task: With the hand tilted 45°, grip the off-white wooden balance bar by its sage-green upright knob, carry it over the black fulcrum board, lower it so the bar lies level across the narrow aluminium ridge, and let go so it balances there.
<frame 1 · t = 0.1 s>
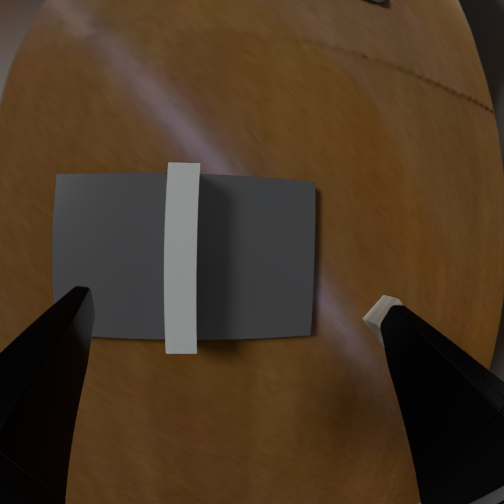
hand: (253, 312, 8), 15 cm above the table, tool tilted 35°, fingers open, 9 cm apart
balance bar: (411, 363, 28), on the table
fulcrum stand: (181, 257, 22), on the table
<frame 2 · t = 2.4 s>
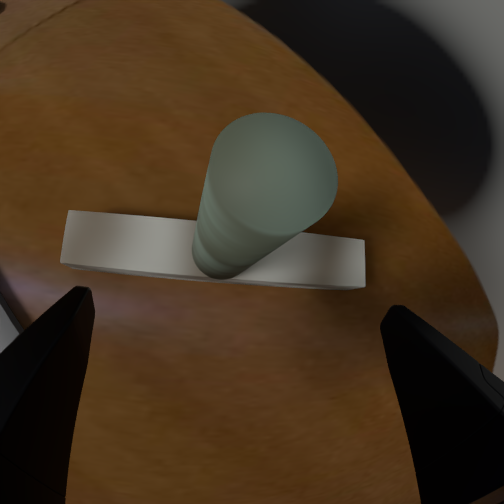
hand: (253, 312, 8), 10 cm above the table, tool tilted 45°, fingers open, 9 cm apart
balance bar: (216, 258, 19), on the table
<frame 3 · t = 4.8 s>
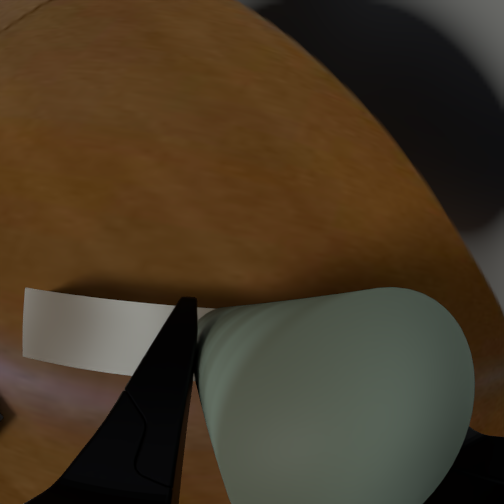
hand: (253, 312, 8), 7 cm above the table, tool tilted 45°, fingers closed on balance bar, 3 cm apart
balance bar: (220, 340, 14), on the table, touching gripper
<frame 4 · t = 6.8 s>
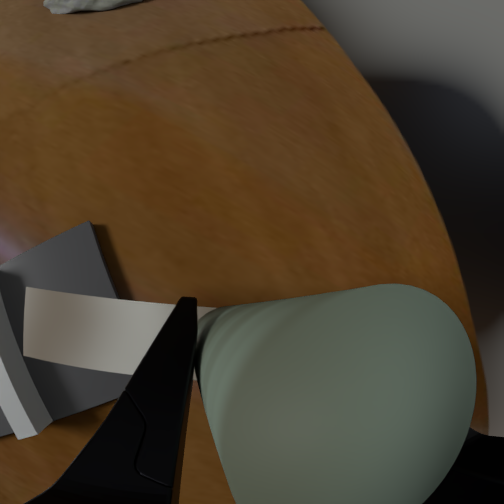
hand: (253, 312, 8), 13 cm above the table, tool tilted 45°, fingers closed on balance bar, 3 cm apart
balance bar: (221, 340, 14), point 7 cm above the table, touching gripper
fulcrum stand: (14, 348, 17), on the table
when the fingers open (12 cm above the table, at t = 9.2 s): balance bar drops 1 cm, resting on fulcrum stand.
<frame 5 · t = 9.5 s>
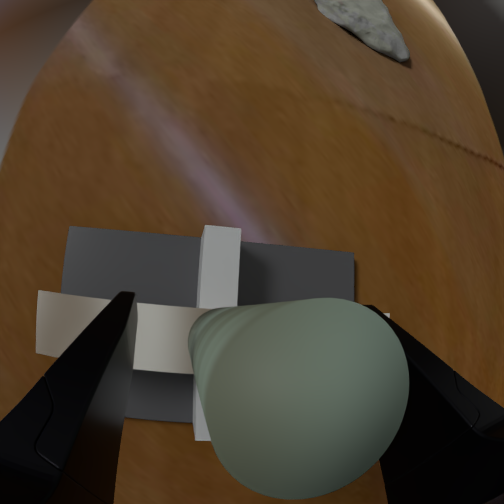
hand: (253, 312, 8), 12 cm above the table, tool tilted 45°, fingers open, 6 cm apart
balance bar: (217, 338, 16), point 4 cm above the table, touching fulcrum stand
fulcrum stand: (209, 332, 20), on the table
stone tool: (360, 14, 32), on the table
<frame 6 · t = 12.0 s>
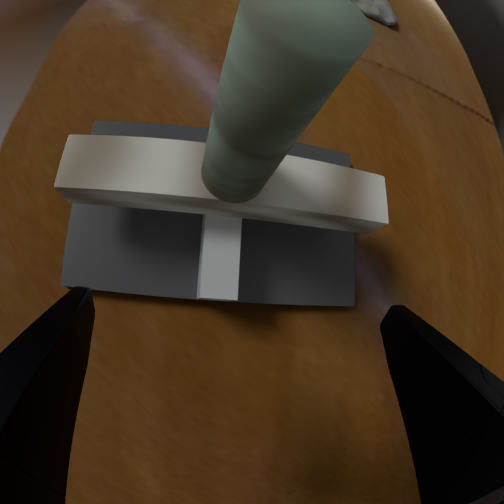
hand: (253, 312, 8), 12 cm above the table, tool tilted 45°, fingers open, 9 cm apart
balance bar: (226, 191, 17), point 4 cm above the table, touching fulcrum stand
fulcrum stand: (217, 212, 21), on the table
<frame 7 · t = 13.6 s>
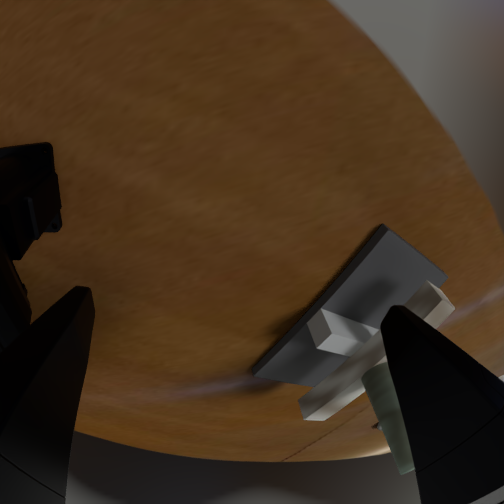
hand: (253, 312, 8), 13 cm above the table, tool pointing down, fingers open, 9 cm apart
balance bar: (367, 352, 27), point 4 cm above the table, touching fulcrum stand
fulcrum stand: (352, 323, 30), on the table
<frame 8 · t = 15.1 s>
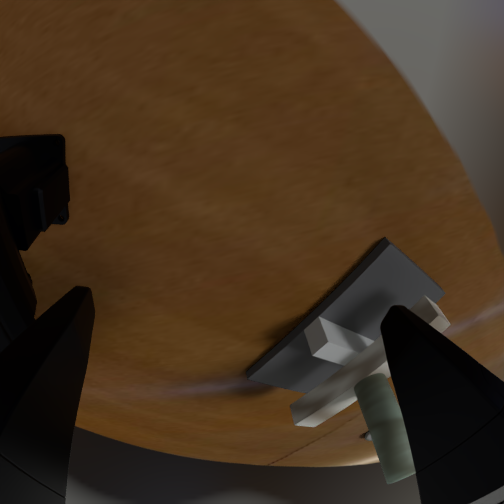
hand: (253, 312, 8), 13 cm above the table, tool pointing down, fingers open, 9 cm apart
balance bar: (361, 362, 27), point 4 cm above the table, touching fulcrum stand
fulcrum stand: (348, 332, 30), on the table
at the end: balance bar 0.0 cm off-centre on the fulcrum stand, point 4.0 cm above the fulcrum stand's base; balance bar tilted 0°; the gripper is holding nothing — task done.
